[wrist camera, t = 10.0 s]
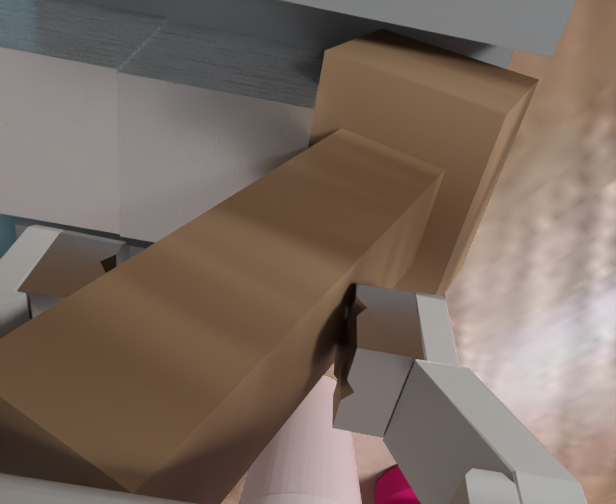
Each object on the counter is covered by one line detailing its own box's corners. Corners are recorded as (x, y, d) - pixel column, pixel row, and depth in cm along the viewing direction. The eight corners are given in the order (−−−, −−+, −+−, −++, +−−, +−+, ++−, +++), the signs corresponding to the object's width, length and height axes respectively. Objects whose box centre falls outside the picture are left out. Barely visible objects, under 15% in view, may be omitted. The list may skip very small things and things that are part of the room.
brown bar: (382, 28, 15) (-123, 220, 6) (538, 79, 13) (207, 437, 4) (338, 212, 18) (-27, 521, 9) (461, 267, 16) (179, 697, 8)
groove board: (89, -202, 15) (-47, -223, 10) (524, -105, 16) (608, -77, 11) (101, 186, 22) (24, 294, 17) (404, 243, 23) (420, 364, 18)
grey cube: (167, 20, 15) (116, 71, 11) (322, 49, 15) (314, 108, 12) (163, 160, 17) (119, 236, 14) (298, 184, 17) (286, 265, 14)
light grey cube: (8, -13, 15) (-91, 30, 11) (168, 17, 15) (116, 69, 11) (27, 133, 17) (-51, 204, 14) (164, 158, 17) (120, 234, 14)
